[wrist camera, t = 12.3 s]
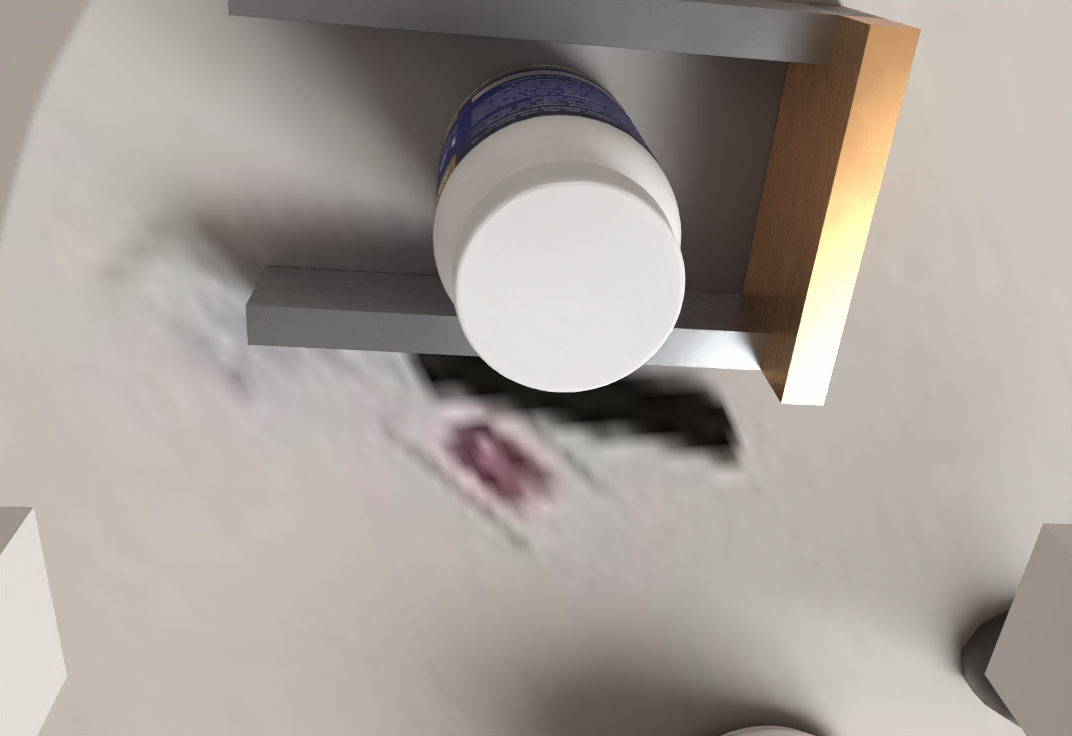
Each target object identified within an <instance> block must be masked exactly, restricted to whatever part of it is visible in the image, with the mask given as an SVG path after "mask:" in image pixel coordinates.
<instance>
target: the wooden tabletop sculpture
mask: <svg viewBox="0 0 1072 736" xmlns="http://www.w3.org/2000/svg"><path fill="white" fill-rule="evenodd" d="M1008 613H1009V611H1007V612H1005V613H1003V614H1001V615H999V616H997V617H995V618H993V619H991V620H989V621H987V622H985V623H983V624H981V626H980V627H979V628H978V630H977V631H976V632H975V634H974V635H973V637H972V638H971V639H970V641H969V642H968V643H967V645H966V646H965V648H964V649H963V650H962V652H961V654H962V664H963V674H964V679H965V680H966V682H967V683H968V685H969V686H970V688H971V689H972V691H973V692H974V693H975V694H976V695H977V696H978V697H979V699H980V700H981V701H982V702H983V703H984V704H985V705H987V706H988V707H990V708H991V709H993V710H994V711H996V712H997V713H999V714H1000V715H1002V716H1004V717H1005V718H1007V719H1008V720H1010V721H1011V722H1013V723H1014V724H1016V725H1018V726H1019V727H1020V725H1019V724H1018V722H1017V721H1016V719H1015V718H1014V716H1013V715H1012V714H1011V712H1010V711H1009V709H1008V708H1007V706H1006V705H1005V703H1004V702H1003V700H1002V699H1001V698H1000V696H999V695H998V693H997V692H996V690H995V689H994V687H993V686H992V684H991V683H990V681H989V680H988V679H987V677H986V676H985V672H986V669H987V667H988V664H989V662H990V659H991V656H992V654H993V651H994V649H995V646H996V644H997V641H998V639H999V636H1000V633H1001V631H1002V628H1003V626H1004V623H1005V621H1006V618H1007V615H1008Z"/></svg>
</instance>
